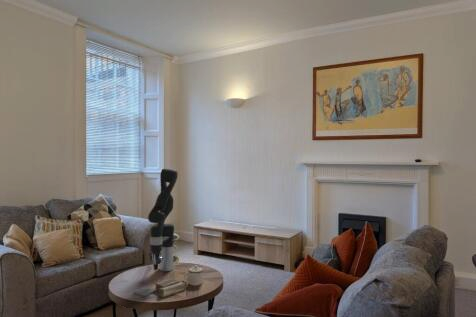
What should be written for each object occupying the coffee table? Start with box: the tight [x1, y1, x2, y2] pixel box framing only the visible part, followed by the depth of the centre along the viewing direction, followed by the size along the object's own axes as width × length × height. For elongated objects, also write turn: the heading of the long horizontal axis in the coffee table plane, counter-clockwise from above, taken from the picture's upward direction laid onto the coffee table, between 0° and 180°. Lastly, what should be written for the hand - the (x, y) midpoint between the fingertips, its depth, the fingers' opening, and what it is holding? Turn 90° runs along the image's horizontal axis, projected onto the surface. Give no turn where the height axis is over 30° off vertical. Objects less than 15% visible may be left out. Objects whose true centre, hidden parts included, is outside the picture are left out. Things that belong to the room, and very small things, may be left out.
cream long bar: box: [158, 280, 187, 298], centre depth 203 cm, size 3×18×5 cm, turn 139°
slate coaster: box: [133, 287, 156, 298], centre depth 202 cm, size 9×9×1 cm
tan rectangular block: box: [154, 277, 180, 293], centre depth 207 cm, size 8×12×5 cm, turn 138°
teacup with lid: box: [183, 264, 204, 287], centre depth 218 cm, size 12×9×12 cm
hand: (155, 269), depth 214 cm, fingers closed
